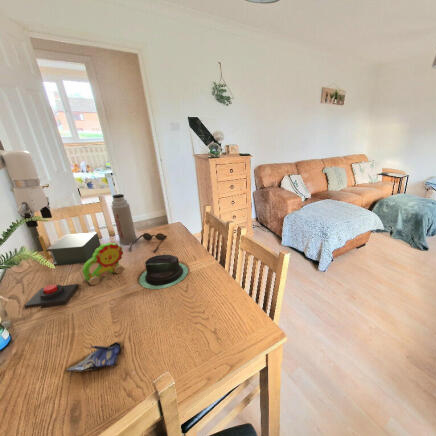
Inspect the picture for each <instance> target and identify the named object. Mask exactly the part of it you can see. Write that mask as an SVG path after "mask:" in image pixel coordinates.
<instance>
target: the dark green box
mask: <svg viewBox="0 0 436 436" xmlns="http://www.w3.org/2000/svg"><path fill="white" fill-rule="evenodd" d="M100 245H102V244H101V242H100V237H99V233H98V232H95V231H94V232H79V233H66V234H63V236H61V237H60V238H59V239H57V240H56V241H55V242H54V243H52V244H51V245H49V246H48V247H47V249H46V251H48V252H50V251H52V252H53V254H54V257H55V260H56V262H55V263H54V262H53V263H52V264H54V265H55V266H54V267H56V266H67V265H78V264H85V263H86V262H87V261H88V260H89V259H90V258H92V255H93V253H94V252H95V250H96V249H97V248H99V246H100Z"/></svg>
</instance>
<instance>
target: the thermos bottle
mask: <svg viewBox="0 0 436 436" xmlns="http://www.w3.org/2000/svg"><path fill="white" fill-rule="evenodd" d="M112 198H113V199H112V201H111V210H112V215H113V218H114V222H115V226H116V231H117V236H118V239H119V243H120V245H123V246H127V245H131V244H132V243H133V242H134V241H135V240H137V239H138V238H137V234H136V231H135V225H134V221H133V216H132V212H131V206H130V204H129V202H128V200H127V199H125V194H123V193H119V194H113V195H112ZM137 241H138V240H137Z"/></svg>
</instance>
